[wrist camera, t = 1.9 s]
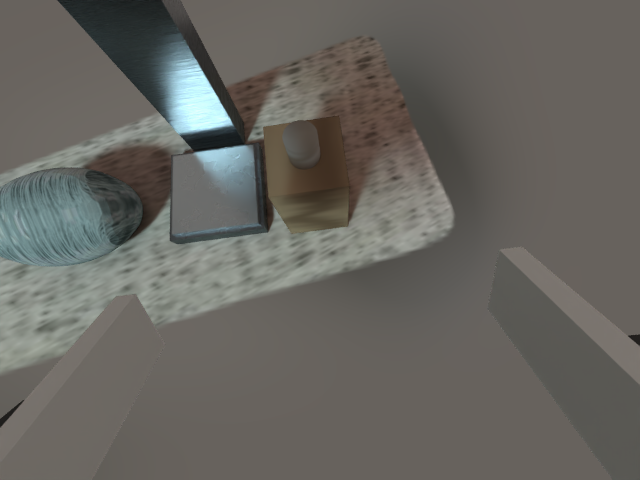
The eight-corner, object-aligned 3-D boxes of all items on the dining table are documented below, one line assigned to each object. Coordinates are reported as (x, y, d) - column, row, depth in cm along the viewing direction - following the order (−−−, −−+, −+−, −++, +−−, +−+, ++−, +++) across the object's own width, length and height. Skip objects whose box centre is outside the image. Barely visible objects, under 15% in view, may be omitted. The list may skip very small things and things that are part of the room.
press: (177, 244, 32) (-1013, -271, 4) (179, 132, 35) (-436, -552, 7) (268, 232, 31) (-347, -448, 3) (260, 120, 35) (-73, -658, 7)
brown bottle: (291, 233, 31) (258, 182, 19) (286, 182, 33) (253, 104, 21) (347, 226, 31) (350, 169, 19) (340, 175, 32) (338, 91, 20)
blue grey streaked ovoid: (143, 154, 31) (34, 152, 22) (171, 240, 33) (82, 271, 24) (55, 180, 35) (-69, 188, 26) (85, 255, 37) (-20, 288, 28)
